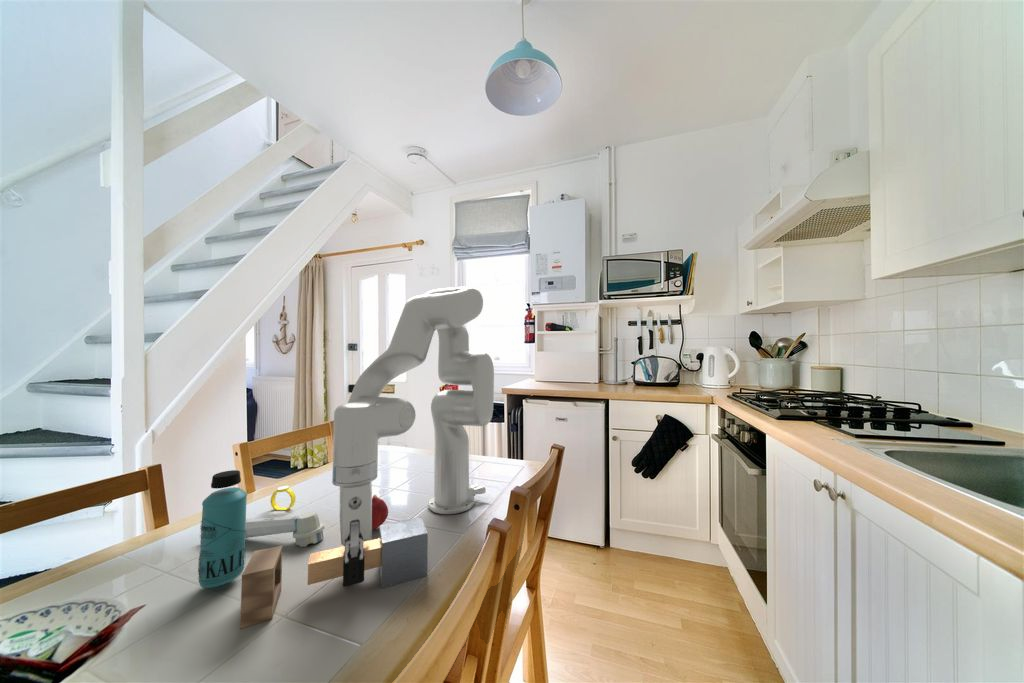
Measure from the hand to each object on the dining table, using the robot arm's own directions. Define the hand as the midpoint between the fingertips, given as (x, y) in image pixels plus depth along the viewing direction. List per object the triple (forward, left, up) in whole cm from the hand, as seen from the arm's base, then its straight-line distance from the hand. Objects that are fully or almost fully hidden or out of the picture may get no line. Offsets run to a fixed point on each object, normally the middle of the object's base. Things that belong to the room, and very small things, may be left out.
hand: (353, 567), depth 60 cm
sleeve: (-9, 0, -3) cm, 9 cm away
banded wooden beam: (-2, 0, -1) cm, 3 cm away
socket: (+13, 0, -3) cm, 14 cm away
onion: (-5, -19, -3) cm, 20 cm away
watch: (+17, -41, -3) cm, 45 cm away
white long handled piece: (+18, -24, -4) cm, 30 cm away
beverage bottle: (+21, -10, -3) cm, 24 cm away
